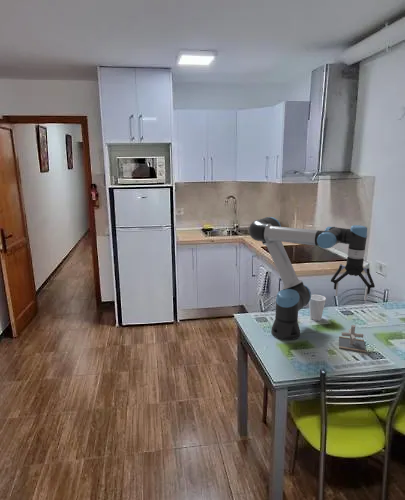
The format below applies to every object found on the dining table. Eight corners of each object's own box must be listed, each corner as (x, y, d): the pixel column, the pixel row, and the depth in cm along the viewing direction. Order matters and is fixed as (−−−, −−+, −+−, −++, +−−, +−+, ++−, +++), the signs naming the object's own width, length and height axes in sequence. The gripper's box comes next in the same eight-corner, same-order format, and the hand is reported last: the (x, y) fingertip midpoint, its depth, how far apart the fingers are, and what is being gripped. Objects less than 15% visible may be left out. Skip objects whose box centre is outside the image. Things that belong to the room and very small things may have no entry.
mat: (338, 348, 175) (339, 346, 174) (339, 337, 186) (339, 336, 185) (365, 353, 171) (365, 351, 170) (363, 341, 181) (364, 339, 181)
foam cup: (326, 321, 204) (327, 300, 201) (310, 321, 205) (311, 300, 201) (320, 314, 214) (322, 294, 211) (305, 314, 214) (307, 294, 211)
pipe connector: (364, 350, 172) (366, 331, 170) (342, 348, 174) (344, 329, 172) (359, 340, 182) (361, 322, 179) (339, 338, 184) (341, 320, 181)
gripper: (328, 256, 175) (323, 296, 180) (384, 262, 165) (378, 304, 170) (329, 252, 181) (325, 291, 187) (383, 258, 172) (377, 298, 177)
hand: (350, 297), depth 179 cm, fingers open, 13 cm apart
